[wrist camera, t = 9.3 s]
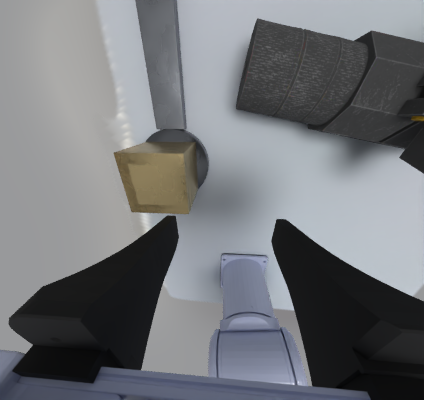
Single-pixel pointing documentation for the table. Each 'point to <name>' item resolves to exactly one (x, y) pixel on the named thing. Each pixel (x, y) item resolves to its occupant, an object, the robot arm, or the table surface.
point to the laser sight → (339, 84)
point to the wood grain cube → (159, 176)
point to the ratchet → (167, 75)
